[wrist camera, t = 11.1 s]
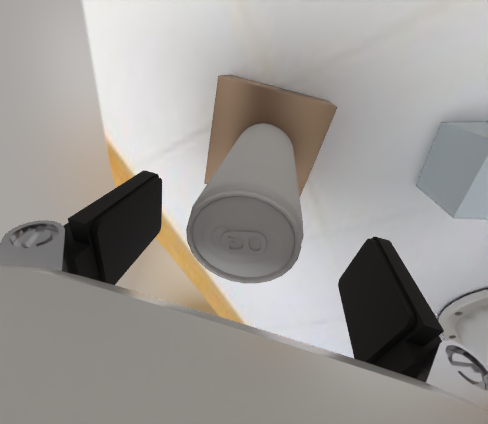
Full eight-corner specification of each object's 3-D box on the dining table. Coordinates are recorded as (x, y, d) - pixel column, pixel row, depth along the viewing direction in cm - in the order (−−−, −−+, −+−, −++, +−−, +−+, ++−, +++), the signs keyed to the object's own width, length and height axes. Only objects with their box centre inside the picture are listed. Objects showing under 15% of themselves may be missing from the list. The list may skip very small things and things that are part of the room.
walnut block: (328, 101, 20) (337, 107, 16) (293, 189, 24) (295, 207, 21) (229, 74, 20) (218, 75, 16) (215, 168, 25) (204, 183, 21)
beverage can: (234, 122, 18) (170, 187, 8) (295, 120, 17) (312, 191, 7) (237, 177, 20) (193, 281, 10) (291, 178, 20) (299, 290, 10)
